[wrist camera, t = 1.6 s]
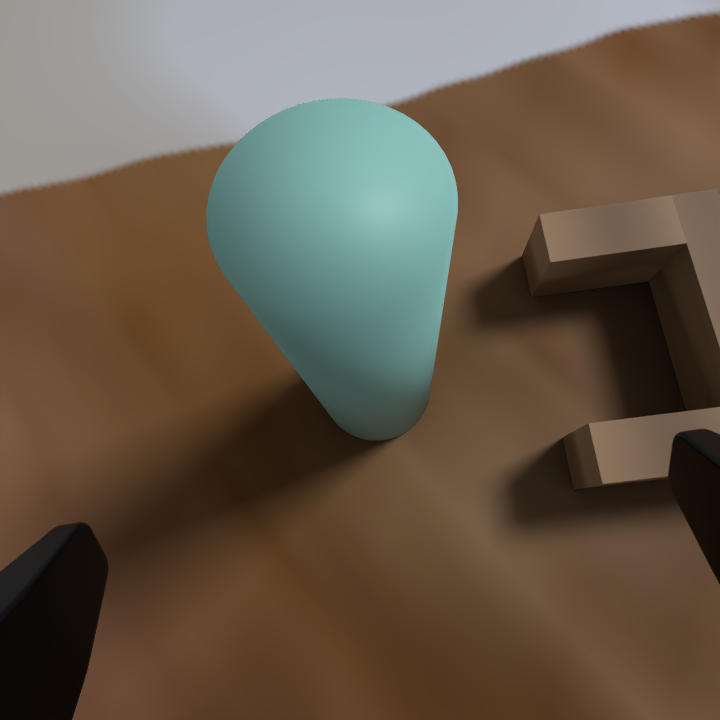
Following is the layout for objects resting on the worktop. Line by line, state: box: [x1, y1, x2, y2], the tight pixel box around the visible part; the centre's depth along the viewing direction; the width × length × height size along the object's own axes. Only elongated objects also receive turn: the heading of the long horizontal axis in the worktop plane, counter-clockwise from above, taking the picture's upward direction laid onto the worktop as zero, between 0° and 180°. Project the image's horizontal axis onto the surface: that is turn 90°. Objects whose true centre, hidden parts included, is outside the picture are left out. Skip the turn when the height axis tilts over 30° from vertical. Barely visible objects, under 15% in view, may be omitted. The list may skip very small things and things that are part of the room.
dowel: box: [206, 99, 458, 441], centre depth 15 cm, size 4×4×12 cm
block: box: [522, 189, 720, 490], centre depth 19 cm, size 6×9×3 cm, turn 7°
